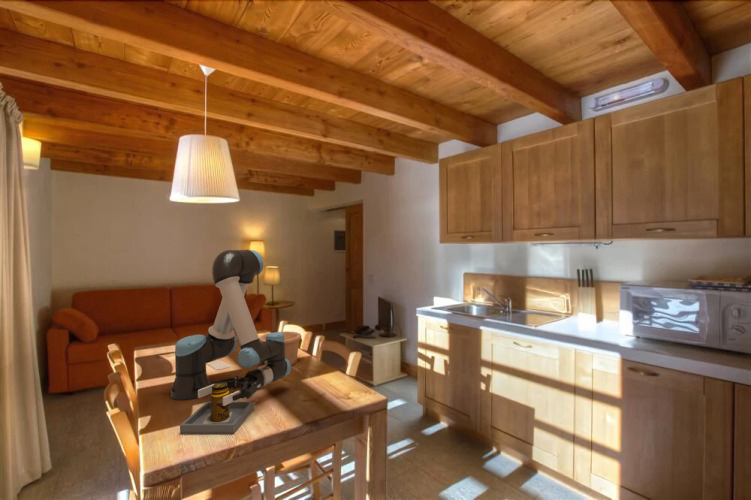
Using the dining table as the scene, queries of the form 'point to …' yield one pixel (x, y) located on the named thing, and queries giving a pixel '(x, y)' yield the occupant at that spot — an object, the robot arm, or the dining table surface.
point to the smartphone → (218, 365)
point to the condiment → (218, 405)
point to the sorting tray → (197, 419)
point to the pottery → (288, 345)
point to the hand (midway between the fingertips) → (210, 397)
